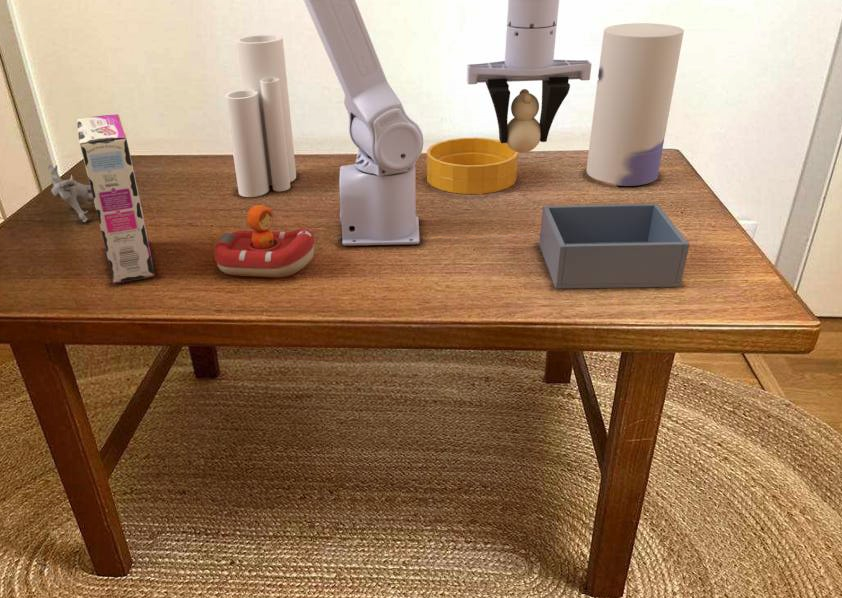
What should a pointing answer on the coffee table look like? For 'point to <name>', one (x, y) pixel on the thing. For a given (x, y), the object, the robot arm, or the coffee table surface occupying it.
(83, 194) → the elephant figurine
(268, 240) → the toy boat
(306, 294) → the coffee table surface
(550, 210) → the bin
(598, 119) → the container
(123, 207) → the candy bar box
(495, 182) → the bowl
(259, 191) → the vase
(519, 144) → the beige rounded figure
